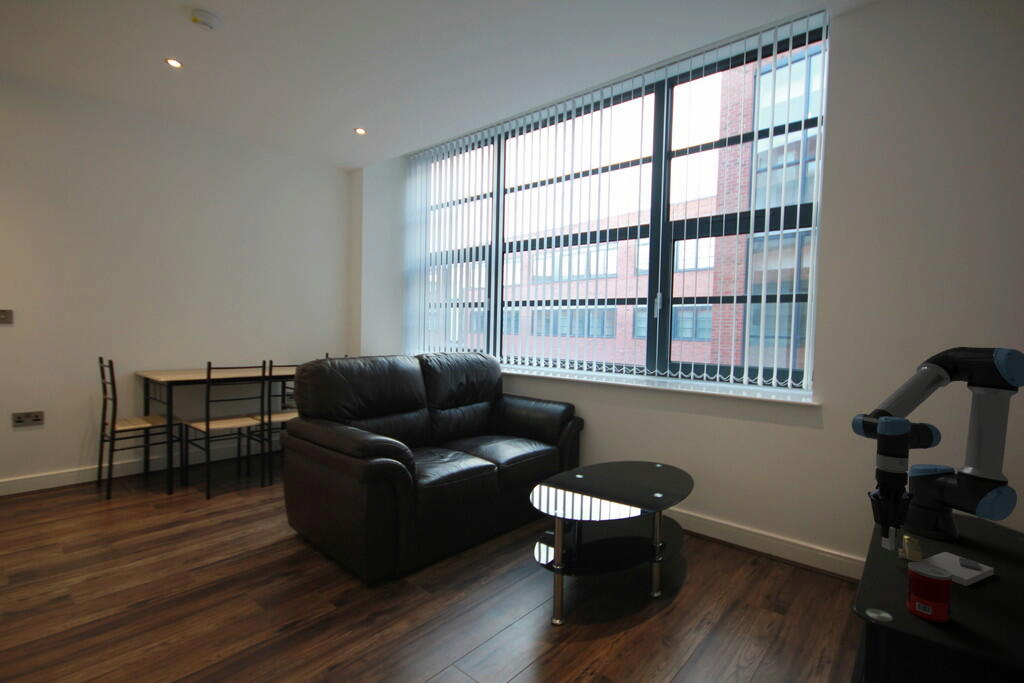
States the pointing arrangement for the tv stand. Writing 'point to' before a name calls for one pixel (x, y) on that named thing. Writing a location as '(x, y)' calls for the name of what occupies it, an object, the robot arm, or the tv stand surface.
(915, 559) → the latch bar
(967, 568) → the white flat block
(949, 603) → the canned food
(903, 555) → the jamb plate
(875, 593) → the tv stand surface
